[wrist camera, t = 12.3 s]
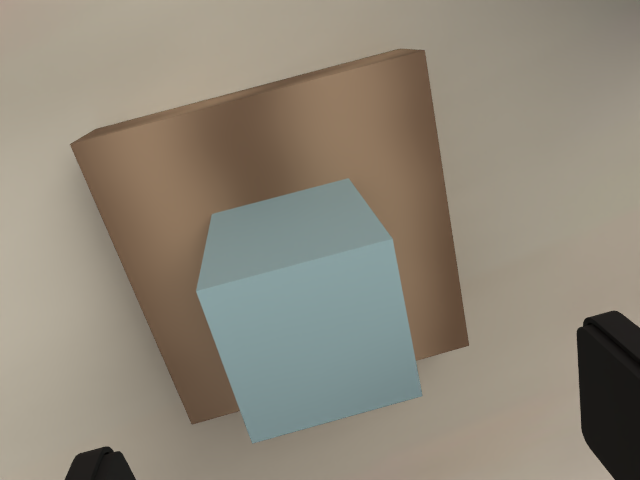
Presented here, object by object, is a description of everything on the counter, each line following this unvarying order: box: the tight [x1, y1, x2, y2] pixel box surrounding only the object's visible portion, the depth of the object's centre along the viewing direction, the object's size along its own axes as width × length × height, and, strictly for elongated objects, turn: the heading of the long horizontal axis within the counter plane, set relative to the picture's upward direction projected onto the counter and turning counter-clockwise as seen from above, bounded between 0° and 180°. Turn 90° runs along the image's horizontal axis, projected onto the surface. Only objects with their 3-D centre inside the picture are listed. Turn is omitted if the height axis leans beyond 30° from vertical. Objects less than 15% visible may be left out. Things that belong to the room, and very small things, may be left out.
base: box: [70, 49, 469, 424], centre depth 21 cm, size 12×12×3 cm
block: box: [196, 178, 422, 444], centre depth 16 cm, size 5×5×6 cm
